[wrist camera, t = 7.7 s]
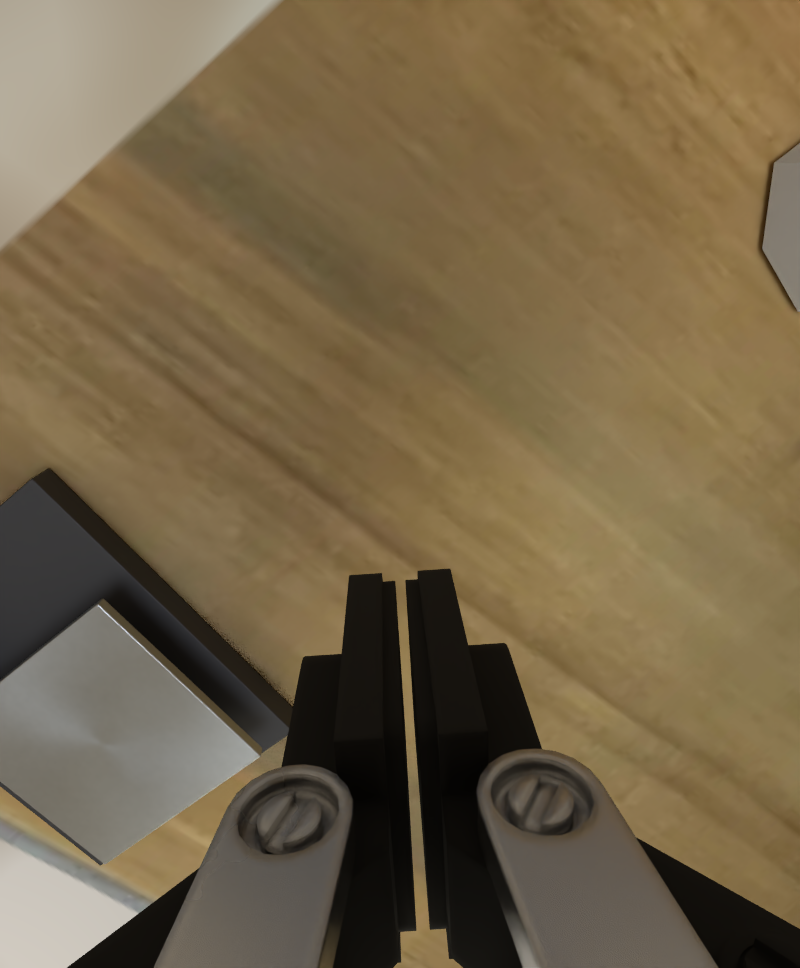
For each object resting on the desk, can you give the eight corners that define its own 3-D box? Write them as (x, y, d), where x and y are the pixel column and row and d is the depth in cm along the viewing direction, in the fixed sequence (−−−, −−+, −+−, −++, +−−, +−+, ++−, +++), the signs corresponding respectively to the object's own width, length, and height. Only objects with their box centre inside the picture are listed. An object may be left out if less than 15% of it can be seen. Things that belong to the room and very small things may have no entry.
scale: (-164, 639, 28) (-225, 681, 25) (42, 460, 26) (0, 484, 23) (99, 849, 32) (72, 906, 29) (297, 711, 30) (288, 757, 27)
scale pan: (-56, 723, 26) (-64, 731, 26) (103, 597, 25) (97, 603, 24) (109, 855, 29) (104, 865, 28) (263, 748, 27) (261, 756, 26)
